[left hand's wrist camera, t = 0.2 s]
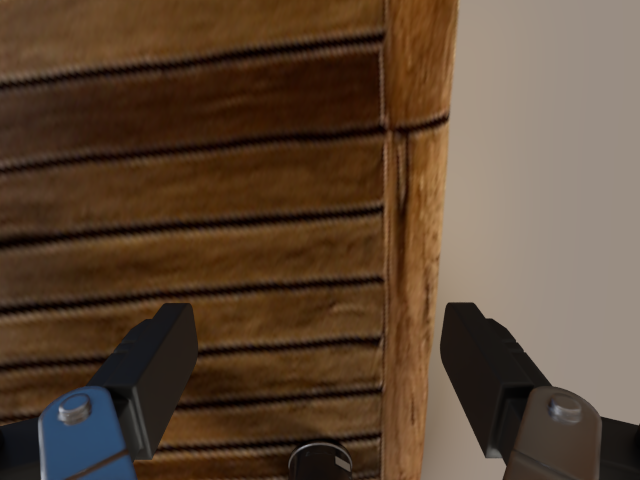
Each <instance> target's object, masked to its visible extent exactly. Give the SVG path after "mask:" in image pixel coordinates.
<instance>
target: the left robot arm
mask: <svg viewBox="0 0 640 480" xmlns="http://www.w3.org/2000/svg"><path fill="white" fill-rule="evenodd" d="M440 354H441V359H442V363H443V365H444V368H445V370H446V372H447V374H448V376H449V378H450V381H451V383H452V385H453V387H454V389H455V392H456V394H457V396H458V398H459V401H460V403H461V405H462V407H463V409H464V412H465V414H466V416H467V418H468V420H469V423H470V425H471V427H472V429H473V431H474V434H475V436H476V438H477V440H478V442H479V445H480V447H481V449H482V451H483V453H484V456H485V458H503V460H504V462H505V464H506V466H507V467H506V470H505V473H504V476H503V480H640V424H639V425H634V424H630V423H626V422H622V421H617V420H613V419H609V418H605V417H601V416H600V415H599V414H598V412H597V411H596V410H595V408H594V407H593V406H592V405H591V404H590V403H588V402H587V401H586V400H585V399H583V398H581V397H580V396H578V395H576V394H574V393H572V392H570V391H568V390H565V389H562V388H558V387H553V386H552V385H551V384H550V382H549V381H548V380H547V379H546V377H545V376H544V375H543V374H542V372H541V371H540V370H539V369H538V367H537V366H536V365H535V364H534V362H533V361H532V360H531V359H530V357H529V356H528V355H527V354H526V353H525V352H524V350H523V349H522V347H521V346H520V345H519V343H516V340H515V338H514V337H513V336H512V335H511V333H510V332H509V331H508V330H507V329H506V328H505V327H504V326H502V325H501V324H499V323H498V322H496V321H495V320H493V319H486V318H485V317H484V316H483V314H482V313H481V311H480V310H479V309H478V308H477V306H476V305H475V304H474V303H448V304H447V305H446V308H445V315H444V321H443V328H442V335H441V342H440ZM197 356H198V341H197V335H196V328H195V321H194V314H193V309H192V306H191V304H190V303H165V304H163V305H162V307H161V308H160V309H159V311H158V312H157V313H156V315H155V316H154V317H153V319H146V320H144V321H143V322H141V323H140V324H138V325H137V326H135V327H134V328H132V329H131V330H130V331H129V333H128V334H127V335H126V336H125V338H124V339H123V340H122V343H120V344H119V345H118V346H117V347H116V349H115V350H114V353H112V354H111V355H110V356H109V357H108V359H107V360H106V361H105V362H104V364H103V365H102V366H101V367H100V369H99V370H98V371H97V372H96V374H95V375H94V376H93V377H92V379H91V380H90V381H89V382H88V384H87V385H86V386H85V387H82V388H78V389H75V390H72V391H70V392H68V393H66V394H64V395H62V396H60V397H59V398H57V399H55V400H54V401H53V402H52V403H50V404H49V405H48V406H47V407H46V408H45V409H44V411H43V412H42V414H41V415H40V417H37V418H34V419H29V420H25V421H21V422H17V423H12V424H8V425H4V426H0V480H137V476H136V473H135V470H134V467H133V462H134V460H152V458H153V456H154V453H155V451H156V449H157V447H158V445H159V442H160V440H161V438H162V436H163V434H164V432H165V429H166V427H167V425H168V423H169V421H170V419H171V416H172V414H173V412H174V410H175V408H176V406H177V403H178V401H179V399H180V397H181V395H182V393H183V390H184V388H185V386H186V384H187V382H188V380H189V377H190V375H191V373H192V371H193V369H194V367H195V364H196V361H197ZM288 480H353V479H352V460H351V456H350V454H349V452H348V451H347V450H346V449H345V448H344V447H343V446H341V445H339V444H337V443H335V442H332V441H327V440H313V441H309V442H306V443H303V444H301V445H300V446H298V447H297V448H296V449H295V450H294V451H293V452H292V453H291V455H290V458H289V475H288Z"/></svg>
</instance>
